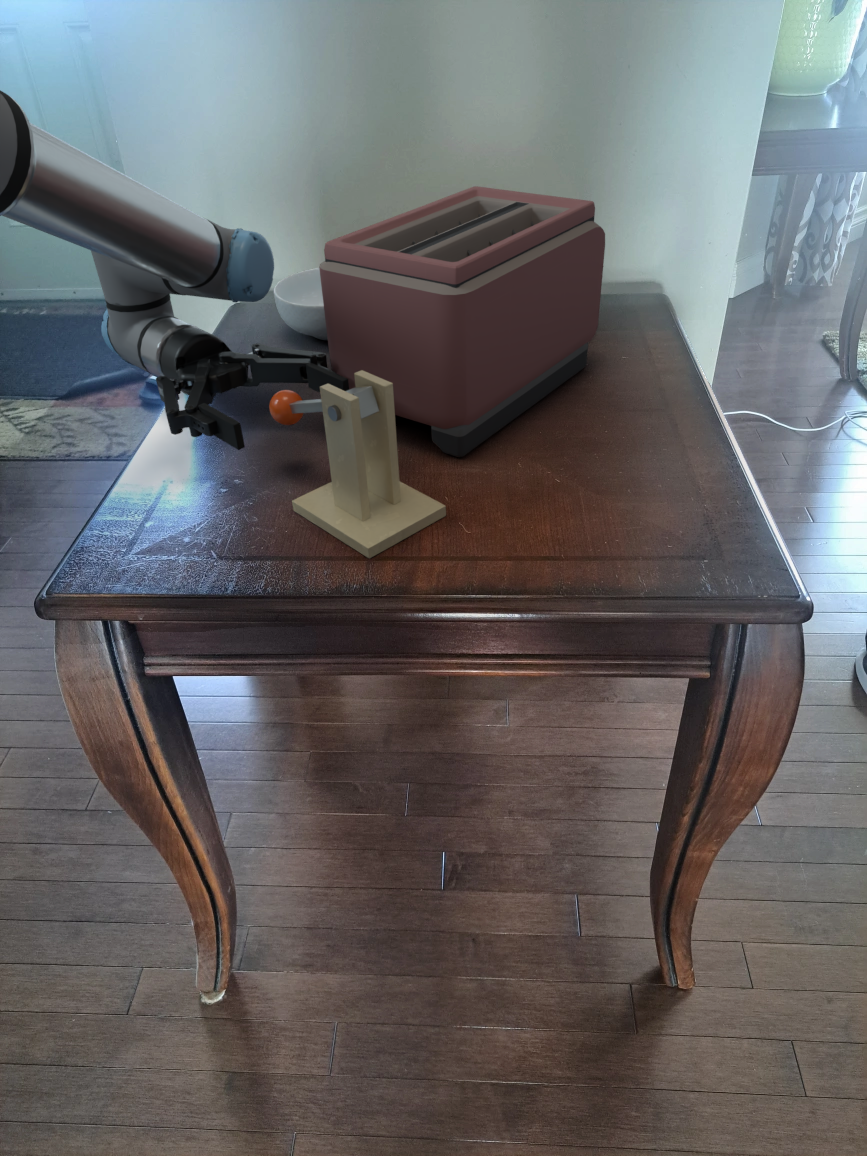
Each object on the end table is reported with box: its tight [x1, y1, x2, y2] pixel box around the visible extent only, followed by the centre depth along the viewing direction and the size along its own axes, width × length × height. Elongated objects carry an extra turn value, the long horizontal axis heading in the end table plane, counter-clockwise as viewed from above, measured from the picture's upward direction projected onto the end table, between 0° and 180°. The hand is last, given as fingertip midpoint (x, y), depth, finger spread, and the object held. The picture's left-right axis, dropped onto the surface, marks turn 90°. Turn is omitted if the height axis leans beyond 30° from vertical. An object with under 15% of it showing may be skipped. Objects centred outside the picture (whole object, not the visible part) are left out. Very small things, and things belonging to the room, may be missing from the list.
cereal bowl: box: [273, 267, 328, 341], centre depth 121 cm, size 17×17×7 cm
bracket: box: [291, 370, 447, 559], centre depth 79 cm, size 12×10×14 cm
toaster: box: [318, 185, 606, 458], centre depth 99 cm, size 19×36×21 cm, turn 144°
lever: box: [268, 386, 379, 426], centre depth 81 cm, size 16×4×4 cm, turn 44°
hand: (295, 413), depth 85 cm, fingers open, 13 cm apart
